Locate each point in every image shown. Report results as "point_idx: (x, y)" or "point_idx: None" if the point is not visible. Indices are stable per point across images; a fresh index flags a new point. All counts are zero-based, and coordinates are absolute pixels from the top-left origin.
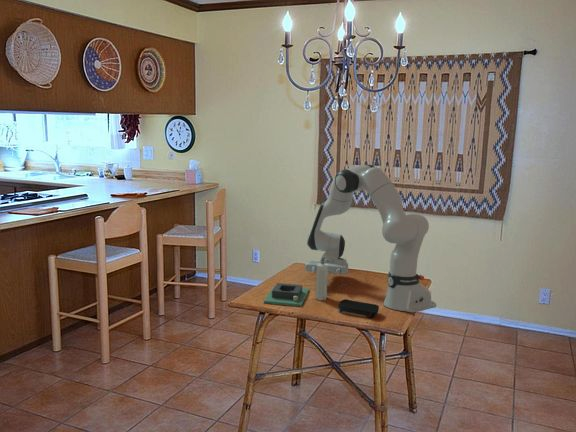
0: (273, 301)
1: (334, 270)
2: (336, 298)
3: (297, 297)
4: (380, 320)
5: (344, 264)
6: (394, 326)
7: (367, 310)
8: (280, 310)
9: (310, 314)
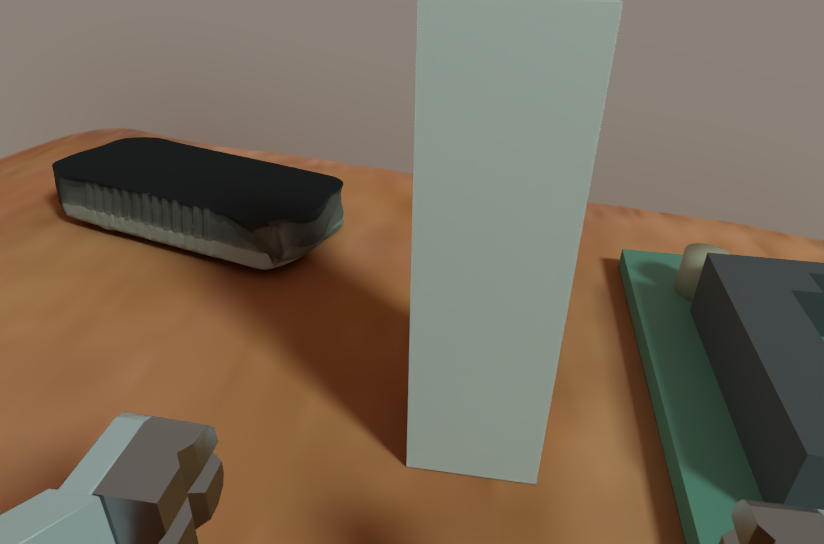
0: None
1: (177, 446)
2: (290, 432)
3: (685, 250)
4: None
5: None
6: (90, 140)
7: (169, 147)
8: (732, 224)
9: None
